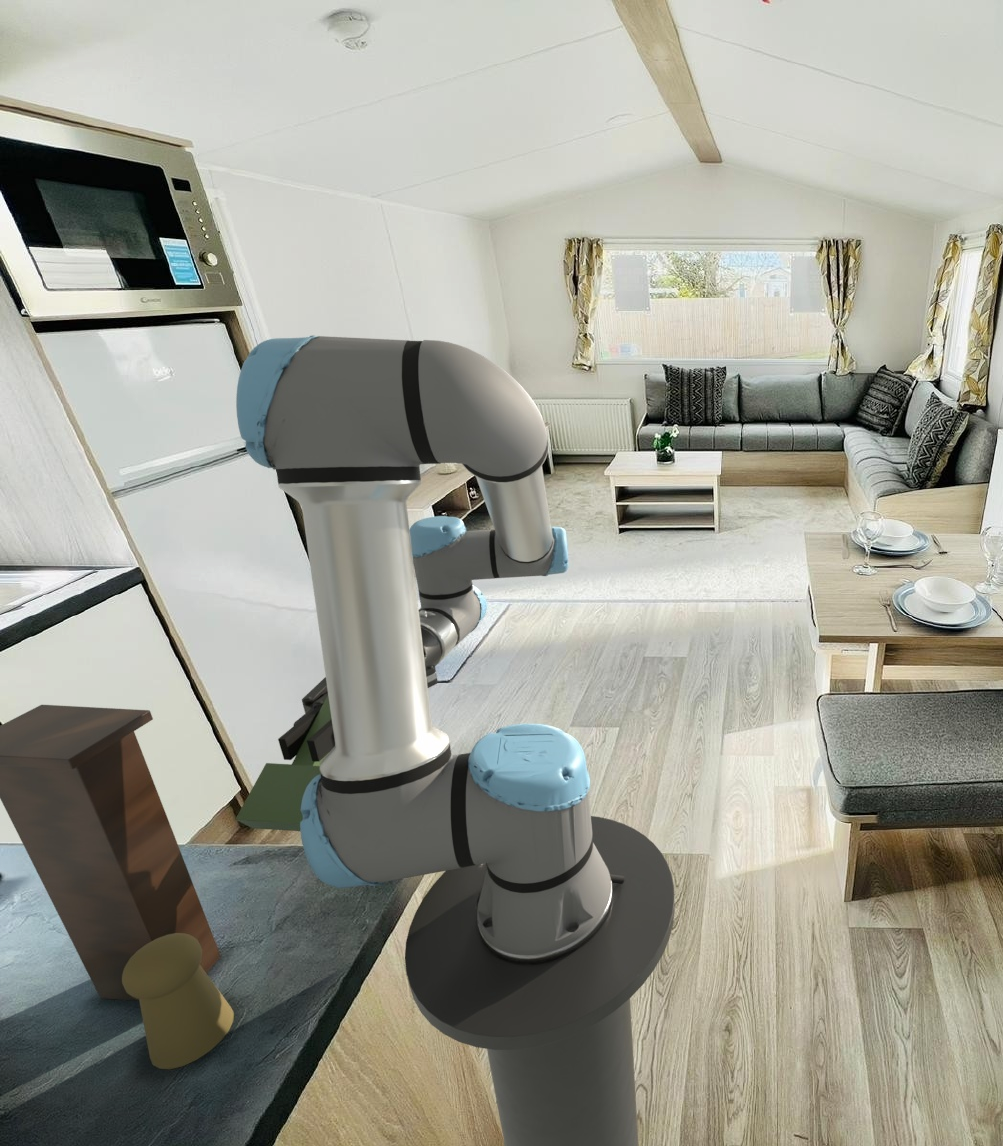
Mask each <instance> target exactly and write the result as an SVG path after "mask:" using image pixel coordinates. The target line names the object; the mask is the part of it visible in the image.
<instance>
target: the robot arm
mask: <svg viewBox="0 0 1003 1146" xmlns="http://www.w3.org/2000/svg"><path fill="white" fill-rule="evenodd" d="M235 398H236V400H235V403H236V405H235V406H236V407H235V409H236V419H237V426H238V431H239V434H240V438H241V439H242V440H244V442H245V444H244V445H245V446H244V447H245V450H246V451H247V454H248V456H249V457H250V458H251V459H252V460H253V462H255V463H256V464H258V465H260V466H262V467H264V468H268V469H272V470H275V471H276V478H277V484H278V488H279V489H280V490H282V491H283V492H285V493H286V494H287V495H288V496H290V497H291V498H293V499H294V500H295V501H296V502H297V503H298V504H299V505H300V507H301V510H302V518H303V524H304V530H305V539H306V545H307V554H308V560H309V567H310V573H311V581H312V590H313V596H314V597H313V598H314V602H315V611H316V618H317V624H318V633H319V638H320V639H319V640H320V645H321V653H322V660H323V667H324V675H325V677H324V678H323V679H322V680H320V682H318V683H317V684H316V685H315V686H314V687H313V688H312V689H311V690H310V691H309V692H308V693H306V695H304V696H303V697H302V698H301V703H302V707H303V710H304V714H303V715H301V717H299V718H298V719H297V720H295V721H294V723H293V724H292V727H291V728H290V729H288V730H286V732H285V733H283V734H282V735H281V736H280V737H278V739H277V741H278V744H279V747H280V751H281V754H282V759H283V760H284V761H285V760H286V761H293V760H294V759H295V757H296V755H297V753H298V751H299V749H300V747H301V745H302V744H303V742H304V740H305V738H306V736H307V734H308V732H309V730H310V728H311V726H312V725H313V723H314V721H315V719H316V717H317V715H318V713H319V711H320V709H321V707H322V705H323V704H324V702H325V700H326V698H327V696H329V703H330V711H331V718H332V719H331V720H330V721H329V722H328V723H326V724H325V725H324V726H323V727H322V728H321V729H320V730H318V731H317V732H316V733H315V734H314V735H313V736H312V737H310V738H309V739H308V740H307V743H308V747H309V751H310V754H311V758H312V761H316V762H319V761H320V760H322V759H323V758H324V757H325V756H326V755H327V754H328V755H327V756H326V757H325V758H324V759H323V760H322V762H321V764H320V775H317V776H316V777H314V778H313V779H312V781H311V782H310V783H309V784H308V786H307V787H306V790H305V792H304V795H303V799H302V804H301V813H302V815H303V820H302V821H301V822H300V831H299V832H300V838H301V843H302V848H303V853H304V854H305V857H306V860H307V863H308V865H309V867H310V869H311V871H312V873H314V875H315V876H316V877H317V878H318V880H320V881H321V882H322V883H324V884H325V885H328V886H332V887H333V888H337V889H347V888H353V887H361V886H369V887H370V886H371V887H375V886H380V885H384V884H385V883H387V882H392V881H398V880H403V879H404V880H405V879H409V878H414V877H419V876H420V877H421V876H424V875H430V874H435V873H436V874H437V873H441V872H445V871H447V870H453V869H458V868H463V867H468V866H473V865H479V864H485V863H486V865H487V872H486V876H485V880H484V883H483V886H482V889H481V891H480V894H479V896H478V899H477V901H476V908H477V905H478V911H477V922H478V928H479V934H480V937H481V940H482V942H483V944H484V945H485V947H486V948H487V949H488V950H489V951H490V952H491V953H492V954H493V955H495V956H496V957H498V958H500V959H502V960H504V961H507V962H510V963H514V964H522V965H533V964H541V963H546V962H550V961H554V960H557V959H559V958H562V957H564V956H566V955H568V954H570V953H572V952H574V951H576V950H577V949H579V948H580V947H582V946H583V945H584V944H586V943H587V942H588V941H589V940H590V939H591V938H592V937H593V936H594V935H595V934H596V933H597V932H598V931H599V929H600V928H601V927H602V925H603V924H604V922H605V920H606V919H607V917H608V914H609V912H610V909H611V905H612V883H617V884H623V883H624V876H619V875H611V874H609V871H608V868H607V866H606V864H605V863H604V861H603V859H602V857H601V856H600V854H599V852H598V850H597V848H596V847H595V845H594V843H593V836H592V824H591V816H592V814H591V813H592V812H591V804H590V794H589V793H590V788H591V776H590V773H589V771H588V767H587V761H586V760H587V759H586V755H585V751H584V750H583V747H582V745H581V744H580V742H579V741H578V740H577V739H576V738H575V737H574V736H573V735H571V734H569V733H566V732H565V731H564V730H562V728H558V727H555V726H553V725H549V724H542V723H534V722H533V723H529V722H528V723H527V722H525V723H515V724H510V725H506V726H501V727H500V728H497V730H496V732H495V733H494V732H489V733H487V734H485V735H484V736H482V737H481V738H480V739H479V740H478V741H476V743H475V744H474V746H473V747H472V749H471V752H465V753H459V754H452V749H451V742H450V737H449V735H448V734H447V733H446V732H444V731H442V730H440V729H439V728H437V727H435V726H434V725H433V723H432V715H431V706H430V697H429V689H430V688H432V687H434V686H435V685H437V684H438V683H439V681H438V676H437V669H436V667H437V665H439V664H440V663H441V662H442V661H443V660H444V659H445V658H446V657H447V655H449V654H450V653H451V652H452V650H454V649H455V647H457V646H458V645H459V644H460V643H461V642H462V641H463V640H464V639H465V638H467V636H469V635H470V633H473V631H475V630H476V629H477V627H479V624H480V623H481V622H482V620H483V619H484V618H485V616H486V614H487V610H488V602H487V599H486V597H485V596H484V595H483V593H482V591H481V590H480V589H479V588H478V587H476V586H475V585H474V584H473V581H477V580H492V579H493V580H494V579H506V578H508V579H509V578H510V579H511V578H526V577H528V578H529V577H547V576H549V575H560V574H564V573H566V572H567V571H568V570H569V550H568V538H567V530H566V529H565V528H563V527H562V526H552V523H551V515H550V509H549V502H548V496H547V490H546V483H545V477H544V470H543V464H544V463H545V461H546V459H547V456H548V452H549V440H548V433H547V427H546V423H545V421H544V418H543V416H542V413H541V412H540V409H539V408H538V406H537V405H536V403H535V402H534V399H533V398H532V396H530V395H529V393H528V392H527V391H526V390H525V388H524V387H523V386H522V385H521V384H520V383H519V382H518V381H517V379H515V378H514V377H513V376H512V375H511V374H509V373H508V372H507V371H505V369H504V368H502V367H501V366H499V364H496V363H495V362H493V361H492V360H490V359H489V358H488V357H486V356H484V355H483V354H480V353H479V352H476V351H475V350H472V349H470V348H468V347H465V346H462V345H459V344H457V343H453V342H448V341H445V340H444V341H443V340H436V339H435V340H433V339H423V340H409V339H391V338H390V339H389V338H368V337H367V338H366V337H347V336H343V337H342V336H324V335H323V336H322V335H315V334H314V335H309V336H305V337H304V336H303V337H277V338H270V339H266V340H264V341H261V342H260V343H258V344H257V345H256V346H255V347H253V348H252V350H251V351H250V352H249V353H248V356H247V358H245V360H244V362H243V363H242V366H241V369H240V372H239V376H238V381H237V385H236V397H235ZM440 464H462V466H463V467H464V468H465V470H466V471H467V472H469V474H471V475H472V476H474V477H475V478H476V481H477V484H478V486H479V490H480V492H481V495H482V498H483V500H484V504H485V506H486V508H487V511H488V514H489V515H488V516H489V517H490V520H491V523H492V526H493V528H494V529H480V530H479V529H478V530H467V527H466V526H465V523H464V521H463V520H462V518H461V519H460V517H456V516H447V515H437V516H430V517H425V518H422V519H419V520H416V521H415V522H414V523H413V524H411V526H410V523H409V517H408V516H409V513H408V505H407V501H408V499H409V497H410V496H411V495H412V494H413V493H414V491H415V490H416V489H417V488H418V487H419V486H420V485H421V484H422V477H421V467H420V466H421V465H440ZM417 589H418V590H417ZM417 591H418V593H417ZM418 598H419V599H418ZM418 600H419V601H418ZM419 602H420V608H419Z"/></svg>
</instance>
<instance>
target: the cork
mask: <svg viewBox="0 0 1003 1146" xmlns="http://www.w3.org/2000/svg"><path fill="white" fill-rule="evenodd" d="M201 959H202V948H201V945H200V943H199V942H198V940H197V939H196V938H195V937H193V936H191V935H189V934H185V933H174V934H169V935H165V936H163V937H160V938H157V939H155V940H153V941H152V942H150V943H148V944H146V945H145V946H143V947H142V948H141V949H139V950H138V951H137V952H136V953H135V954H134V955H133V956H132V957H131V958H130V959H129V961H128V962H127V964H126V966H125V968H124V970H123V974H122V984H123V986H124V988H125V990H126V992H127V993H128V994H129V995H131V996H132V997H134V998H136V999H139V1001H138V1002H139V1006H140V1011H141V1016H142V1017H141V1018H142V1023H143V1028H144V1033H145V1038H146V1044H147V1049H148V1054H149V1059H150V1062H151V1064H152V1065H153V1066H154V1067H155V1068H158V1069H160V1070H172V1069H178V1068H181V1067H184V1066H186V1065H188V1064H190V1063H193V1062H195V1061H197V1060H199V1059H200V1058H201V1057H204V1056H205V1055H207V1054H208V1053H209V1052H211V1051H212V1050H213V1049H214V1048H215V1047H216V1046H217V1045H218V1044H220V1042H222V1041H223V1039H224V1038H225V1037H226V1035H227V1034H228V1033H229V1031H230V1029H231V1027H232V1025H233V1023H234V1018H235V1017H234V1016H235V1012H234V1010H233V1009H232V1006H231V1004H229V1003H228V1001H227V1000H226V998H225V997H224V995H223V994H222V993H221V992H220V990H219V989H218V987H217V985H215V983H214V982H213V981H212V979H211V977H210V976H209V975H208V974H207V973H206V972H205V971H204V970H203V968H202V967H201V966H200V963H201Z"/></svg>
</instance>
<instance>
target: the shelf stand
mask: <svg viewBox="0 0 1003 1146" xmlns="http://www.w3.org/2000/svg"><path fill="white" fill-rule="evenodd" d="M153 720H154V718H153V715H152V711H150V710H149V709H131V708H115V707H114V708H111V707H96V706H95V707H94V706H93V707H92V706H91V707H90V706H76V705H58V704H57V705H55V704H40V705H37V706H36V707H34V708H32V709H30V710H28V711H26V712H24V713H22V714H21V715H18V716H16V717H14V718H13V719H10V720H9V721H6V722H5V723H2V724H1V725H0V801H1V803H2V805H3V807H4V809H5V811H6V813H7V815H8V817H9V819H10V821H11V823H12V825H13V827H14V828H15V831H16V833H17V835H18V837H19V839H20V841H21V843H22V845H23V847H24V849H25V851H26V853H27V855H28V857H29V859H30V862H31V864H32V865H33V867H34V869H35V871H36V873H37V875H38V877H39V879H40V881H41V883H42V885H43V886H44V889H45V891H46V893H47V895H48V898H49V899H50V901H51V904H52V905H53V907H54V908H55V911H56V913H57V915H58V916H59V918H60V921H61V923H62V925H63V927H64V928H65V931H66V933H67V935H68V937H69V939H70V941H71V944H72V945H73V947H74V948H75V951H76V953H77V955H78V956H79V958H80V961H81V963H82V965H83V967H84V969H85V971H86V972H87V974H88V977H89V979H90V980H91V982H92V985H93V986H94V988H95V990H96V991H95V992H97V994H98V997H99V998H100V999H107V1000H120V1001H121V1000H122V1001H123V1000H124V1001H136V1002H137V1001H138V1002H139V999H136V998H134V997H132V996H131V995H129V994H128V993H127V992H126V990H125V988H124V986H123V984H122V974H123V970H124V968H125V966H126V964H127V962H128V961H129V959H130V958H131V957H132V956H133V955H134V954H135V953H136V952H137V951H138V950H139V949H141V948H142V947H143V946H145V945H146V944H148V943H150V942H152V941H153V940H155V939H157V938H160V937H163V936H165V935H169V934H174V933H185V934H189V935H191V936H193V937H195V938H196V939H197V940H198V942H199V943H200V945H201V948H202V959H201V963H200V966H201V967H202V968H203V970H204V971H205V972H206V974H207V973H208V972H209V971H210V970H211V969H212V967H214V965H215V964H216V963H217V962H218V961H219V960H220V959H221V957H222V955H221V953H220V949H219V947H218V945H217V943H216V940H215V937H214V934H213V931H212V929H211V926H210V924H209V922H208V919H207V917H206V913H205V911H204V908H203V906H202V904H201V901H200V898H199V896H198V893H197V890H196V888H195V885H194V883H193V880H192V877H191V875H190V872H189V869H188V867H187V864H186V861H185V859H184V857H183V855H182V851H181V849H180V847H179V844H178V842H177V839H176V836H175V834H174V830H173V829H172V825H171V823H170V820H169V818H168V816H167V813H166V810H165V807H164V805H163V802H162V800H161V797H160V794H159V792H158V789H157V787H156V785H155V782H154V779H153V776H152V774H151V772H150V769H149V767H148V764H147V761H146V759H145V756H144V753H143V751H142V749H141V745H140V743H139V741H138V738H137V735H136V733H135V731H137V730H139V729H140V728H142V727H143V726H145V725H146V724H148V723H150V722H151V721H153Z"/></svg>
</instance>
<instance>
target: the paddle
mask: <svg viewBox="0 0 1003 1146" xmlns="http://www.w3.org/2000/svg"><path fill="white" fill-rule="evenodd" d="M331 719H332V718H331V711H330V703H329V696H327V698H326V700H325V702H324V704H323V705H322V707H321V709H320V711H319V713H318V715H317V717H316V719H315V721H314V723H313V725H312V726H311V728H310V730H309V732H308V734H307V736H306V738H305V740H304V742H303V744H302V745H301V747H300V749H299V751H298V753H297V755H296V756H295V757H294V758H293V760H292V763H291V764H290V763H274V762H273V763H272V762H271V763H270V762H266V763H265V765H264V766H263V768H262V769H261V772H260V773H259V775H258V777H257V779H256V781H255V783H254V784H253V786H252V787H251V790H250V792H249V793H248V795H247V797H246V799H245V800H244V802H243V804H242V806H241V808H240V810H239V812H238V814H237V815H236V817H235V819H234V820H235V821H237V822H238V823H241V824H243V825H245V826H247V827H249V828H251V829H253V830H270V831H271V830H272V831H288V832H289V831H290V832H300V822H301V821H302V820H303V815H302V813H301V804H302V799H303V795H304V792H305V790H306V787H307V786H308V784H309V783H310V782H311V781H312V779H313V778H314V777H316V776H317V775H320V764H321V762H322V760H323V759H324V758H325V757H326V756H327V755H328V754H327V755H326V756H325V757H324V758H323V759H322V760H320V761H319V762H316V761H312V758H311V754H310V751H309V747H308V743H307V740H308V739H309V738H310V737H312V736H313V735H314V734H315V733H316V732H317V731H318V730H320V729H321V728H322V727H323V726H324V725H325V724H326V723H328V722H329V721H330V720H331Z"/></svg>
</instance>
